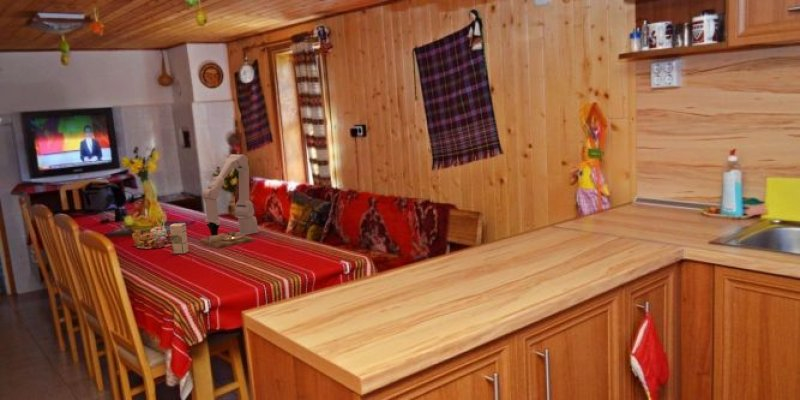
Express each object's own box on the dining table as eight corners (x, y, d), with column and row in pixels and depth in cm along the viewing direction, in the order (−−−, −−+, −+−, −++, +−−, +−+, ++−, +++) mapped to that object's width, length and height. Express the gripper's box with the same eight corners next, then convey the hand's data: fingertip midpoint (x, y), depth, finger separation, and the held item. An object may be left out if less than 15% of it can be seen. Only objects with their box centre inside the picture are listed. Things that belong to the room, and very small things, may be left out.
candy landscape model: (150, 252, 313) (148, 234, 312) (125, 247, 327) (123, 229, 326) (193, 241, 333) (191, 224, 331) (167, 237, 347) (165, 220, 345)
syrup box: (188, 251, 310) (185, 222, 308) (183, 254, 305) (180, 225, 302) (178, 251, 311) (174, 222, 309) (172, 254, 305) (169, 225, 303)
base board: (235, 235, 342) (235, 232, 341) (254, 241, 325) (253, 238, 325) (200, 241, 329) (199, 239, 329) (217, 248, 312) (217, 245, 312)
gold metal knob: (231, 240, 321) (230, 234, 321) (232, 241, 320) (232, 235, 319) (228, 241, 320) (227, 235, 320) (229, 242, 319) (229, 235, 318)
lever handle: (237, 235, 334) (236, 228, 334) (246, 238, 326) (245, 231, 325) (205, 241, 323) (204, 234, 323) (214, 244, 315) (213, 237, 314)
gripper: (199, 210, 327) (201, 236, 329) (210, 214, 316) (212, 240, 318) (211, 208, 331) (214, 233, 333) (223, 211, 320) (226, 237, 322)
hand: (214, 236), depth 326 cm, fingers closed
